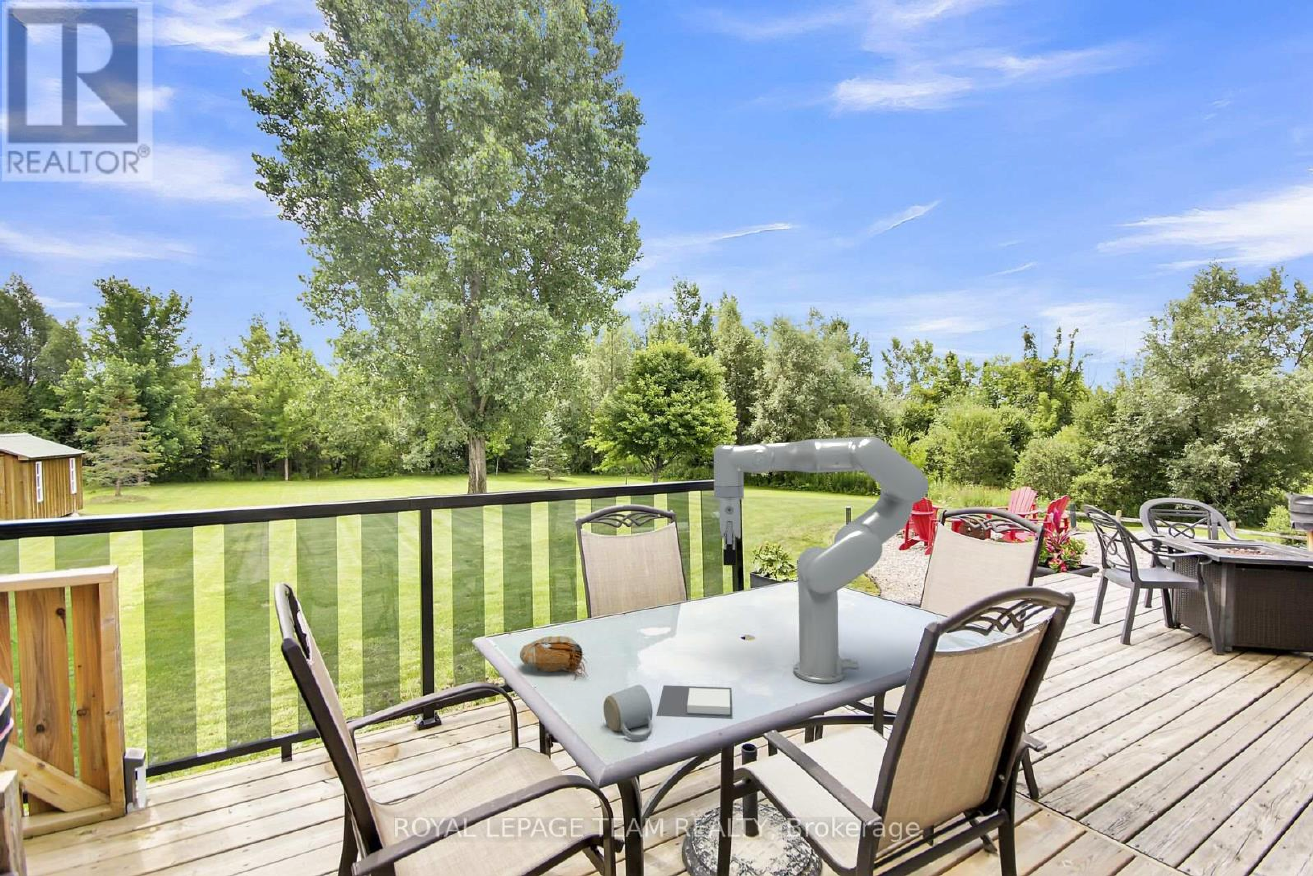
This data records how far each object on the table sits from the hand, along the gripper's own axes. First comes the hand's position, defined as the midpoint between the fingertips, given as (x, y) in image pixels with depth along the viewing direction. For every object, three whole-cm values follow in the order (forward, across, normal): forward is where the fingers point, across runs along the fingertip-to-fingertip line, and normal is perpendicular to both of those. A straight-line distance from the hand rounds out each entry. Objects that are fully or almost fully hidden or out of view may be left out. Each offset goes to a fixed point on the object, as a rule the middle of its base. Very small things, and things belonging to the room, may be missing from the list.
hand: (729, 564), depth 152 cm
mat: (+27, -20, +8) cm, 35 cm away
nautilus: (+27, -4, +44) cm, 52 cm away
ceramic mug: (+27, -33, +20) cm, 48 cm away
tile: (+26, -18, +5) cm, 32 cm away
